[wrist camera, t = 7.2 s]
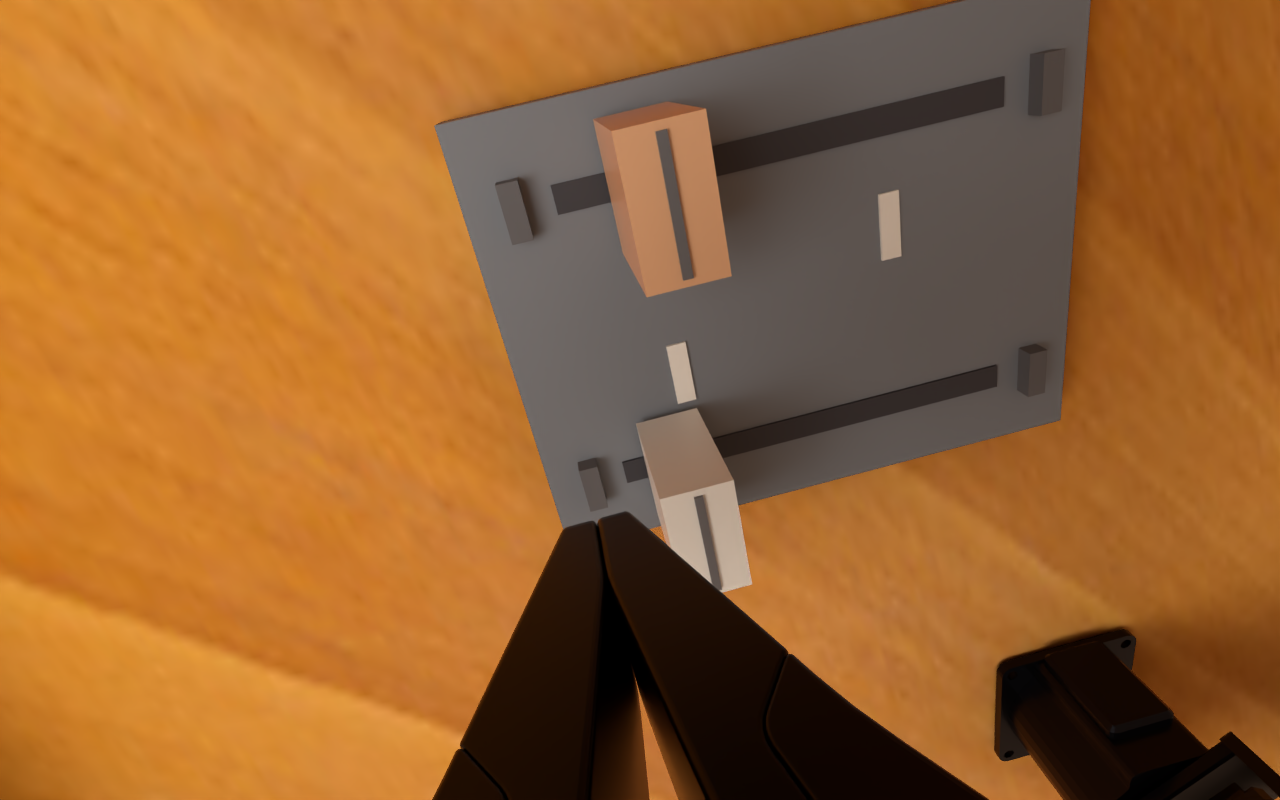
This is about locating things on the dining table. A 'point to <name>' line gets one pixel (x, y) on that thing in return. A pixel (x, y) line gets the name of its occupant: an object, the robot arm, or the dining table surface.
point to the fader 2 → (695, 498)
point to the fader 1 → (665, 195)
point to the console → (798, 253)
